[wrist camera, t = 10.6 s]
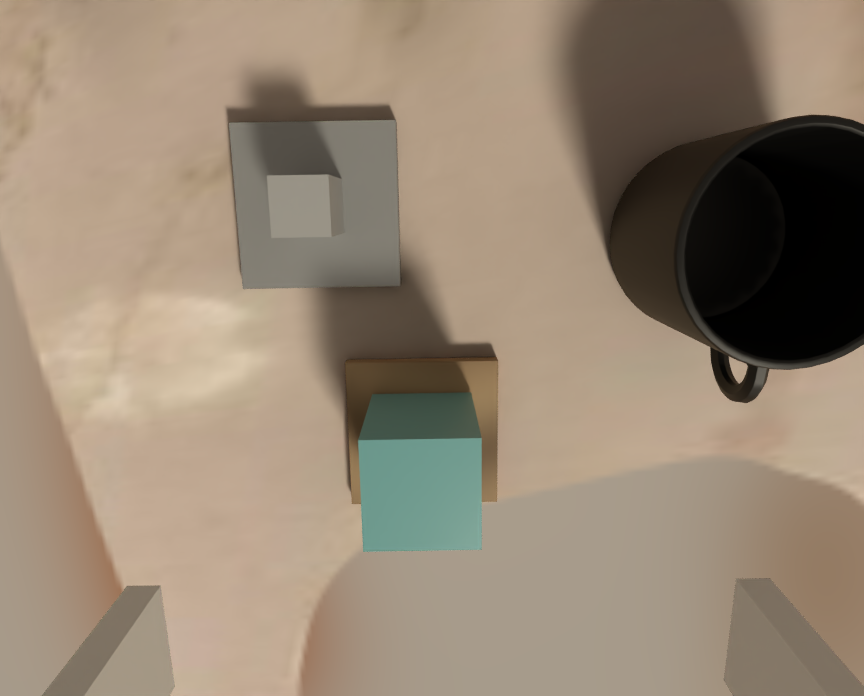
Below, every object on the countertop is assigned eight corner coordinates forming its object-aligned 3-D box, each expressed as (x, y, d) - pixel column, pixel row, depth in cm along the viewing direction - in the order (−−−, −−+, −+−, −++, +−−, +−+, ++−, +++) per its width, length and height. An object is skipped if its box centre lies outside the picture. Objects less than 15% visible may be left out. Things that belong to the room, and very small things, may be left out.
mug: (604, 377, 33) (667, 438, 24) (608, 145, 31) (681, 119, 22) (778, 370, 33) (905, 428, 24) (798, 136, 31) (948, 107, 22)
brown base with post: (347, 359, 33) (325, 399, 26) (496, 357, 33) (513, 396, 26) (353, 497, 35) (335, 567, 28) (495, 495, 35) (511, 564, 28)
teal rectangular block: (372, 394, 32) (358, 440, 26) (471, 392, 32) (481, 438, 26) (375, 485, 34) (363, 551, 27) (471, 483, 34) (481, 549, 27)
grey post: (233, 124, 30) (196, 108, 25) (396, 121, 30) (390, 105, 25) (247, 286, 32) (214, 300, 27) (400, 284, 32) (396, 297, 27)
